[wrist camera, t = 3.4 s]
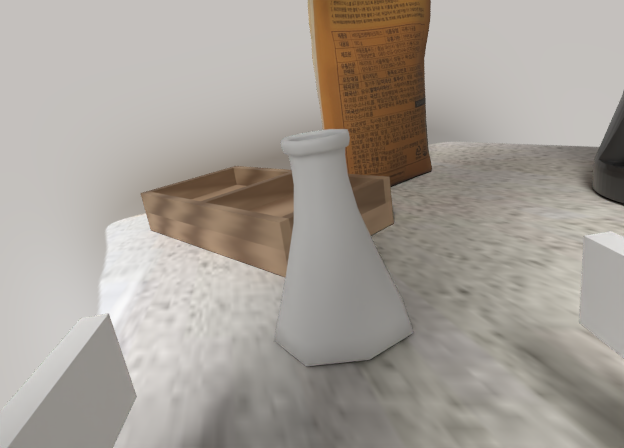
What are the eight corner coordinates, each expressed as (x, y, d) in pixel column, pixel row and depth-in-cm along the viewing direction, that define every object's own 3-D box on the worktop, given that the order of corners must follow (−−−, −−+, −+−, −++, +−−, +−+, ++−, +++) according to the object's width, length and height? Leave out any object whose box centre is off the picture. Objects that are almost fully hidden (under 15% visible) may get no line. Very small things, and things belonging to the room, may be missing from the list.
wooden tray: (150, 230, 45) (140, 193, 44) (241, 198, 52) (235, 166, 51) (289, 278, 29) (279, 222, 28) (393, 223, 36) (389, 176, 35)
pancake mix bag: (465, 164, 52) (455, -111, 43) (350, 209, 42) (306, -142, 33) (419, 161, 57) (403, -85, 48) (307, 201, 47) (259, -105, 38)
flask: (376, 281, 27) (358, 118, 24) (441, 342, 20) (427, 125, 17) (262, 313, 25) (227, 142, 22) (292, 390, 19) (247, 160, 15)
